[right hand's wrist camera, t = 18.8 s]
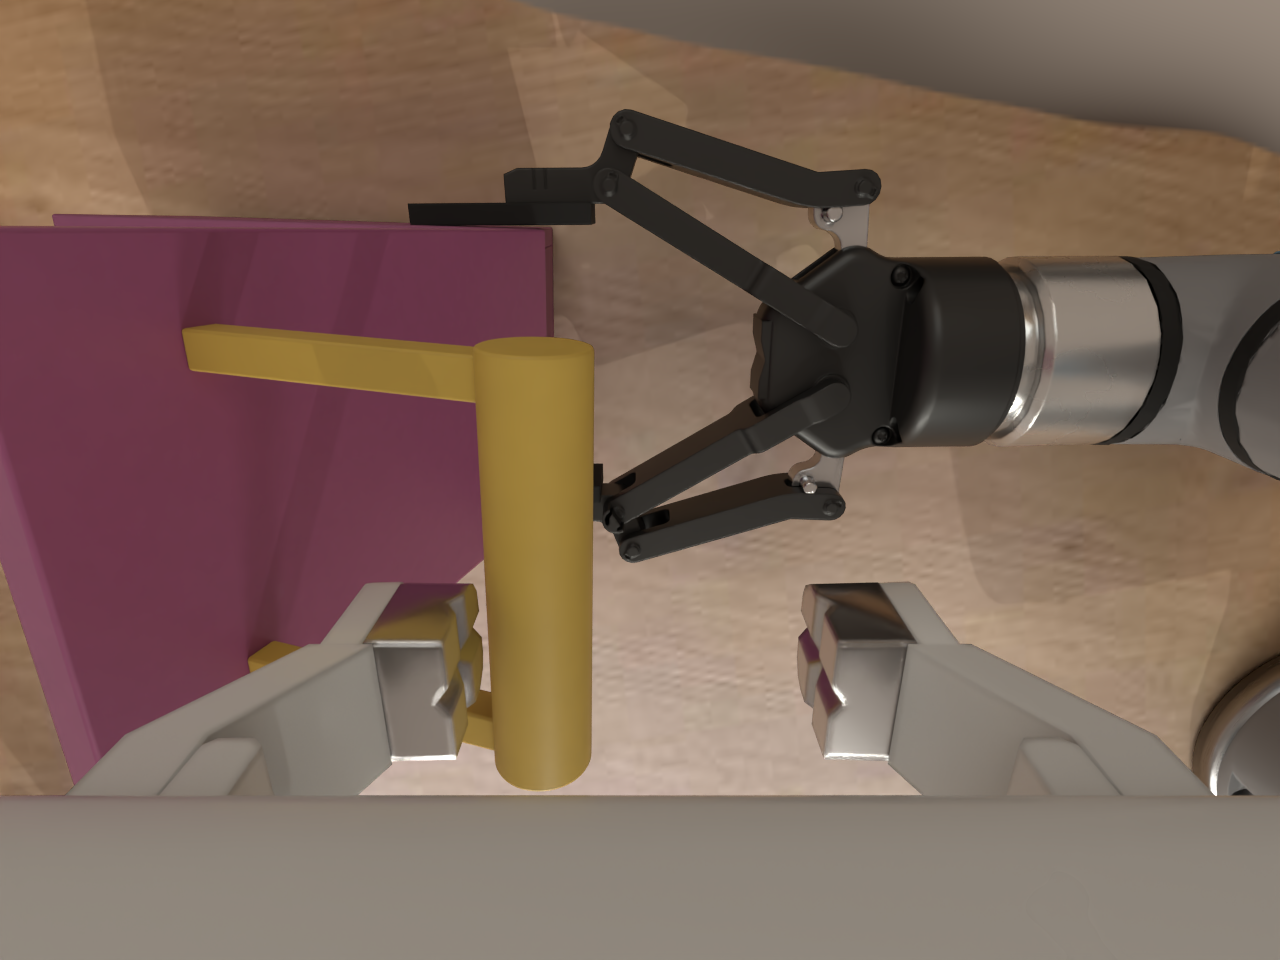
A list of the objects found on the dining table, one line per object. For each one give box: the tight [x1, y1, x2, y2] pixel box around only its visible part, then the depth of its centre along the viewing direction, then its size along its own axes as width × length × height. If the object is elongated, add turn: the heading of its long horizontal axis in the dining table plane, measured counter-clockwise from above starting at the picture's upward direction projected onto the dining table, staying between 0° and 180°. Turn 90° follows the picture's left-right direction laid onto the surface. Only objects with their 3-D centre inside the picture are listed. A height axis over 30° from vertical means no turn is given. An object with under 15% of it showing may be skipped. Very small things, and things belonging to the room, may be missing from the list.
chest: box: [52, 214, 554, 337], centre depth 29 cm, size 16×10×9 cm, turn 88°
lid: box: [0, 226, 594, 791], centre depth 17 cm, size 17×10×8 cm
